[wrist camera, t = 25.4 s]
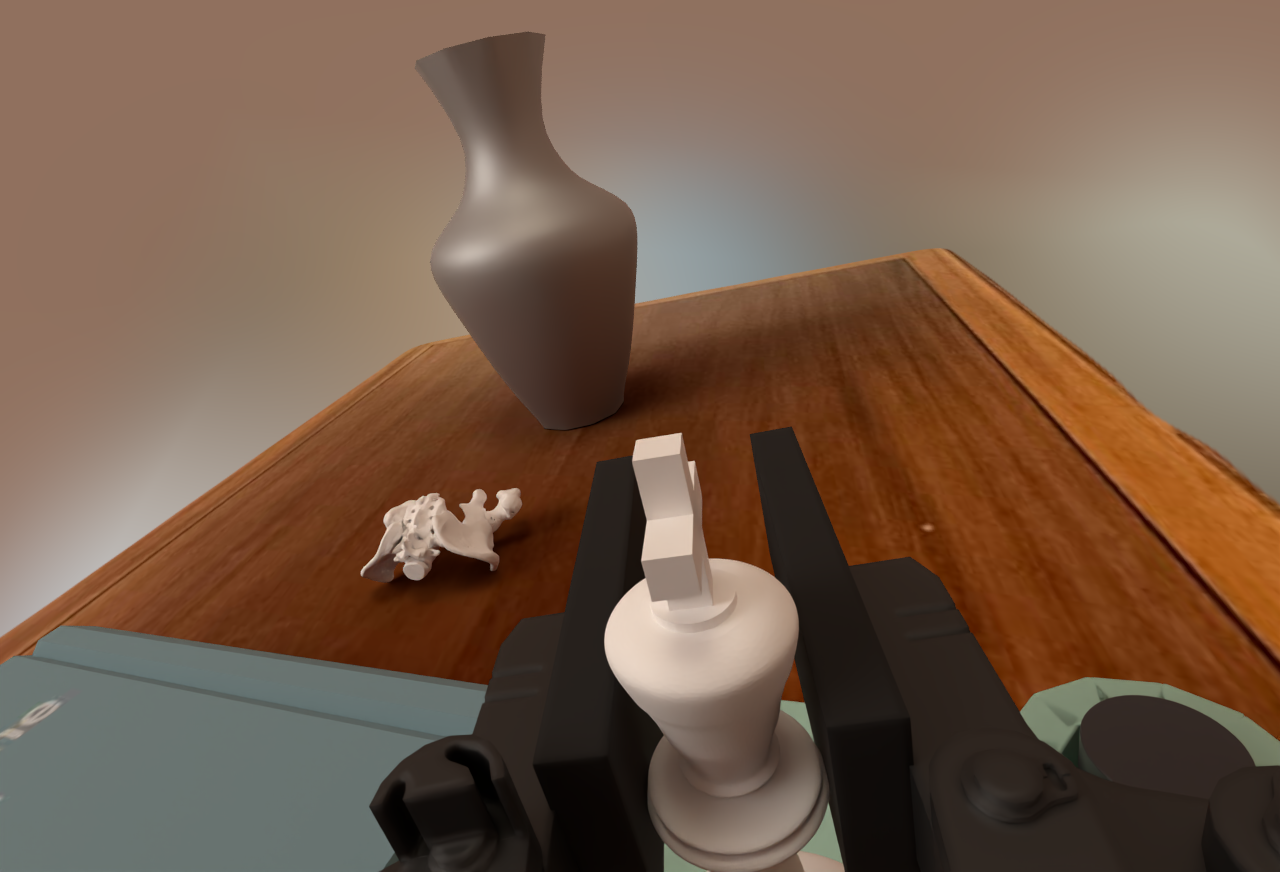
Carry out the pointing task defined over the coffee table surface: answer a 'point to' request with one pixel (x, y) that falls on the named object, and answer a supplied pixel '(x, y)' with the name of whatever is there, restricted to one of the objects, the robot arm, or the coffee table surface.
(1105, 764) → the button
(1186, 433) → the coffee table surface
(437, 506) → the pelvis model
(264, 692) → the book
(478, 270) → the vase
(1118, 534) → the coffee table surface
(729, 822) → the chess piece
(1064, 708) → the scale
